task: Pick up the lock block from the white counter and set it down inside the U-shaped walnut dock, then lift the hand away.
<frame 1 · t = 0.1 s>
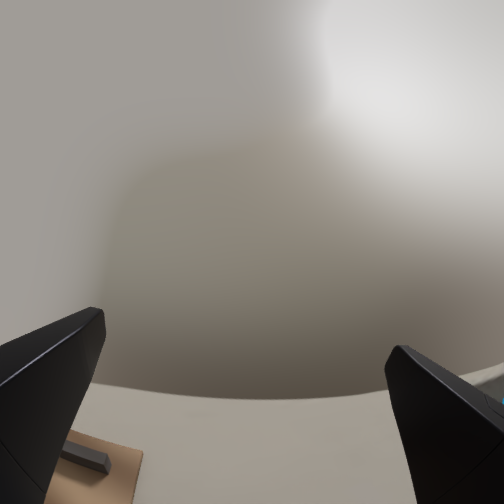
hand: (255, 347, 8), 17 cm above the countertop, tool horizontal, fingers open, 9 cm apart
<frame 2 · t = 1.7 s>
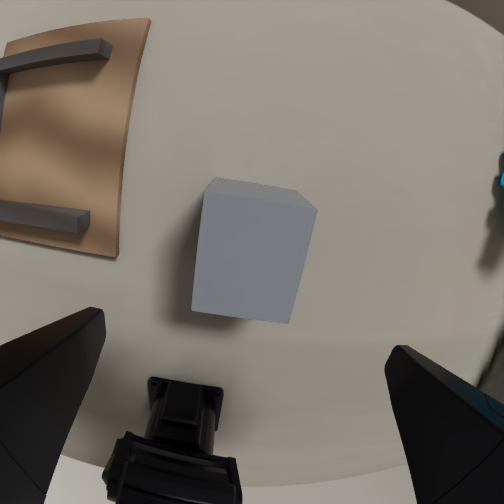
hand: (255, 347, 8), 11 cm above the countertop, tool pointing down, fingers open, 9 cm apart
dock: (48, 133, 16), on the countertop
lock block: (248, 229, 19), on the countertop
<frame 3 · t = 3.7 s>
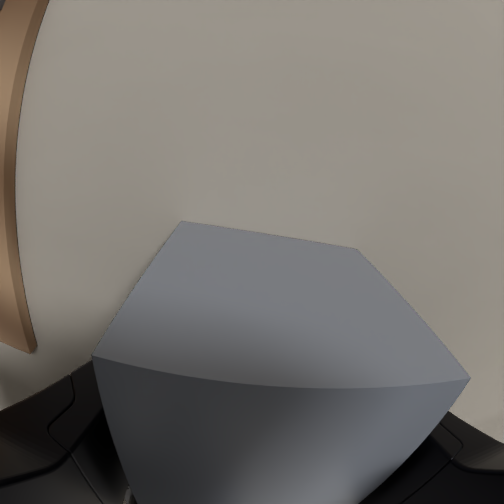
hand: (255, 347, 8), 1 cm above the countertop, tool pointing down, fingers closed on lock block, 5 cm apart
lock block: (253, 327, 9), on the countertop, touching gripper
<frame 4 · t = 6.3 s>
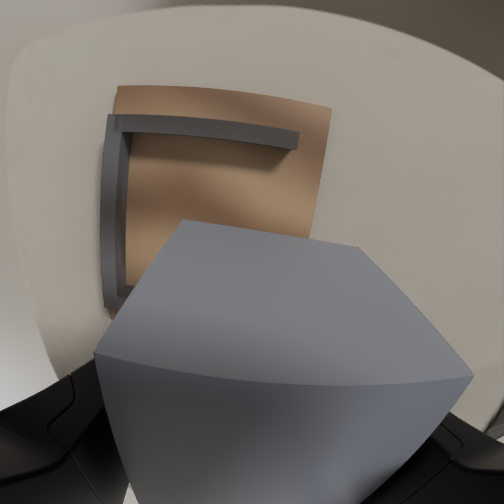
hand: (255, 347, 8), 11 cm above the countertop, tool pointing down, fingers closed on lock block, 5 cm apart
dock: (204, 219, 18), on the countertop
lock block: (255, 325, 9), point 10 cm above the countertop, touching gripper
when the fingers open (3 cm above the countertop, at t = 8.8 s): lock block drops 1 cm, resting on dock.
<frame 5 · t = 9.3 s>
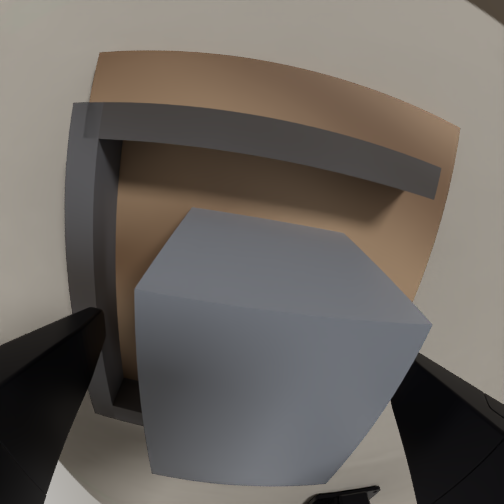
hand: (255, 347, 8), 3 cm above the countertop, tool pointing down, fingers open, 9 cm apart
dock: (251, 294, 11), on the countertop
lock block: (253, 302, 10), point 1 cm above the countertop, touching dock
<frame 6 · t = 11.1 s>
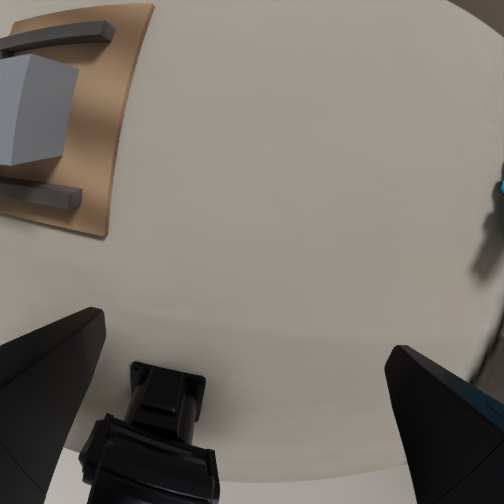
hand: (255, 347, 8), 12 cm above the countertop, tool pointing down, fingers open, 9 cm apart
dock: (47, 112, 15), on the countertop
lock block: (43, 111, 15), point 1 cm above the countertop, touching dock
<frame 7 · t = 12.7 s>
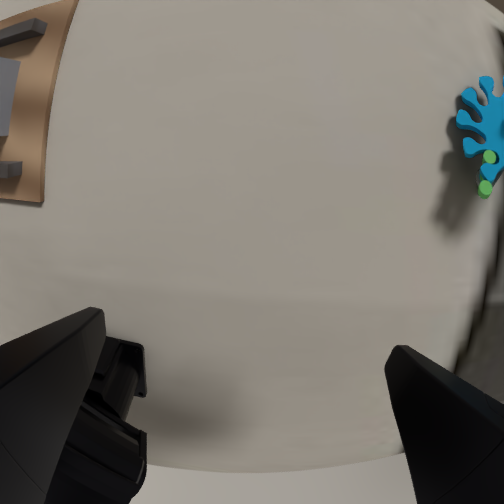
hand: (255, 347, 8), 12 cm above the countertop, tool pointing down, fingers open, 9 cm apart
blue splash shape: (479, 133, 17), on the countertop
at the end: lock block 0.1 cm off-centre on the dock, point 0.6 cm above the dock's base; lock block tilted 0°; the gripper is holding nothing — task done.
